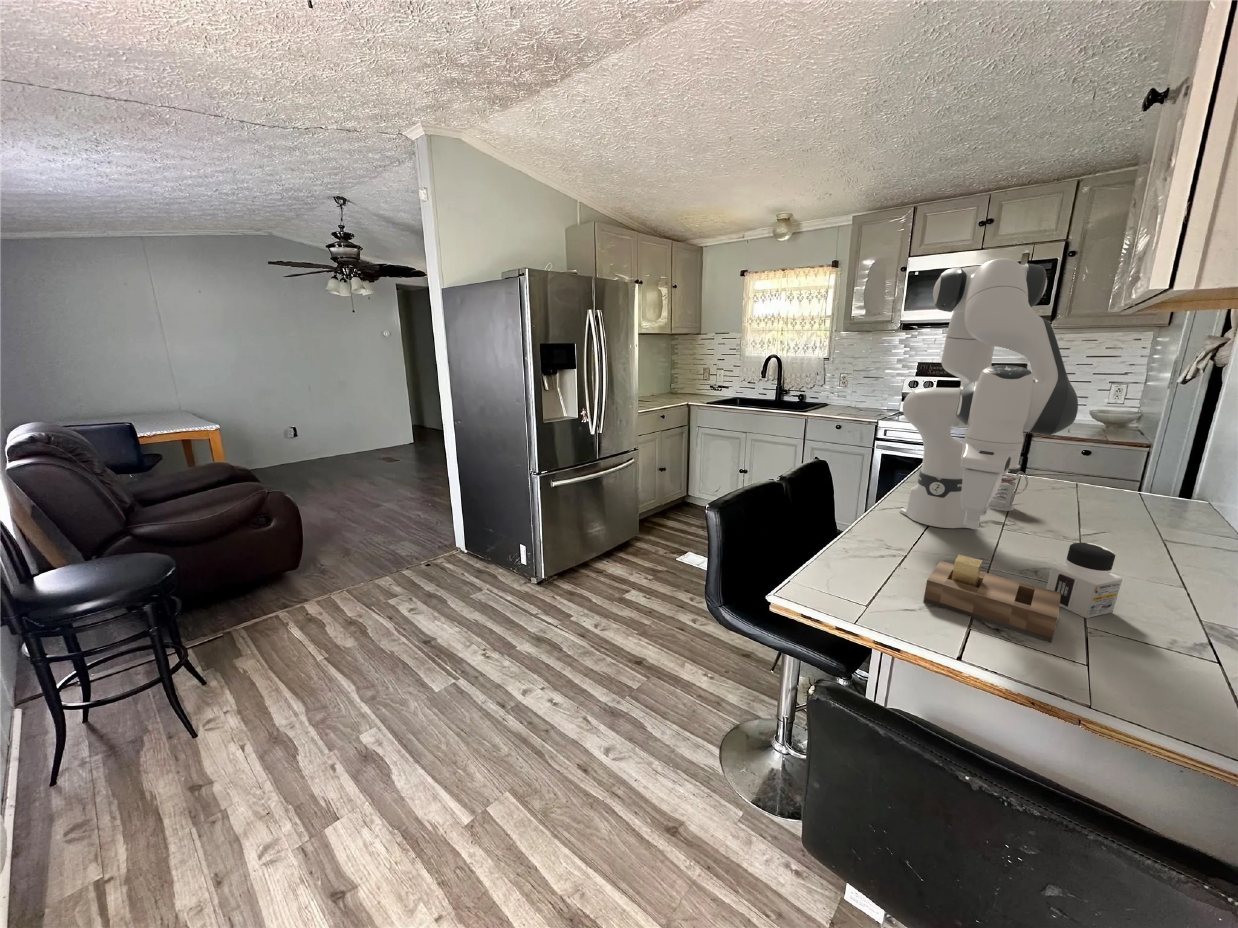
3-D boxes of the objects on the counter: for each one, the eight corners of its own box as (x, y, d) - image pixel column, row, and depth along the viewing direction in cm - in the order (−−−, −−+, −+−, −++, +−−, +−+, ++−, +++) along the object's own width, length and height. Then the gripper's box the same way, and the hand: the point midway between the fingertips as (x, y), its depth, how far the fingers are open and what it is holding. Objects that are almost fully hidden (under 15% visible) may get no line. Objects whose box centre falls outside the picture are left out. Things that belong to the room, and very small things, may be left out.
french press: (981, 498, 163) (996, 425, 157) (1025, 507, 154) (1043, 430, 148) (972, 504, 157) (987, 429, 151) (1017, 514, 148) (1035, 434, 142)
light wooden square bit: (952, 589, 103) (958, 554, 101) (975, 595, 100) (982, 560, 98) (948, 596, 100) (955, 560, 98) (971, 603, 97) (979, 567, 95)
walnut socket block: (936, 581, 108) (940, 560, 107) (1055, 615, 95) (1061, 592, 93) (923, 601, 100) (927, 579, 98) (1051, 642, 86) (1057, 618, 85)
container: (1086, 619, 94) (1103, 557, 90) (1042, 598, 101) (1057, 541, 98) (1113, 612, 96) (1131, 552, 92) (1068, 593, 103) (1083, 536, 100)
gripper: (979, 441, 102) (967, 503, 105) (960, 460, 87) (946, 531, 91) (1017, 446, 97) (1003, 510, 101) (1003, 466, 83) (987, 540, 87)
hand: (976, 520), depth 96 cm, fingers open, 8 cm apart
